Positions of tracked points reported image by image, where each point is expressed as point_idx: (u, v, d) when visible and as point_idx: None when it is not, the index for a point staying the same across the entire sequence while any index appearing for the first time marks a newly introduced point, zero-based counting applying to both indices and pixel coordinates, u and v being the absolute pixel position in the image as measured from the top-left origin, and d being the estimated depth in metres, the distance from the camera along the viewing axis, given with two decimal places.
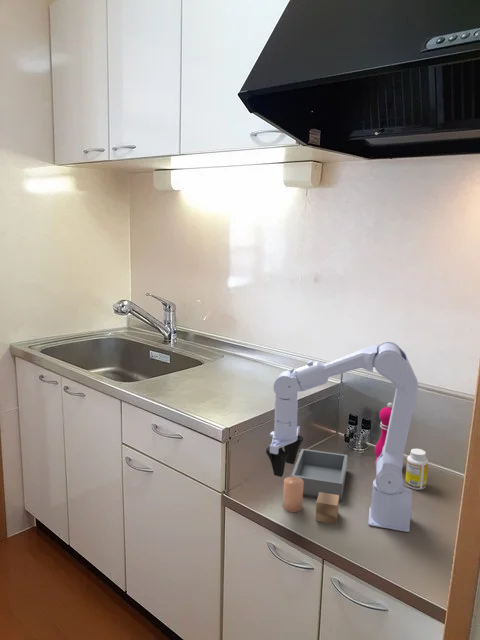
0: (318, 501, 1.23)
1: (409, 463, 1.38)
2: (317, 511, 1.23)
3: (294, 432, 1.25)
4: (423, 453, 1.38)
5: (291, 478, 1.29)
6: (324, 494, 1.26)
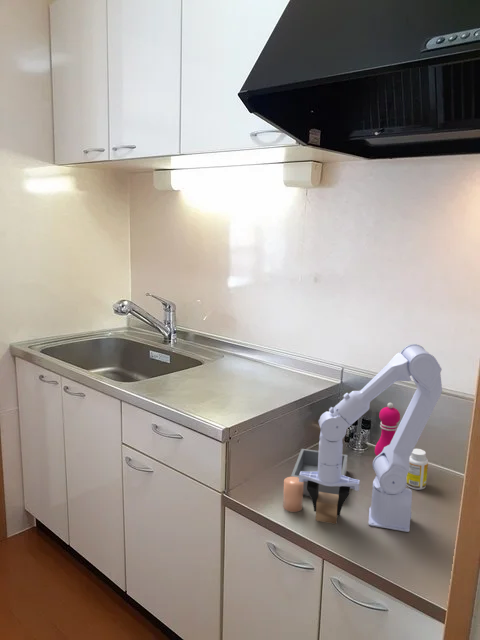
0: (318, 501, 1.23)
1: (409, 463, 1.38)
2: (317, 511, 1.23)
3: (325, 475, 1.20)
4: (423, 453, 1.38)
5: (291, 478, 1.29)
6: (324, 494, 1.26)
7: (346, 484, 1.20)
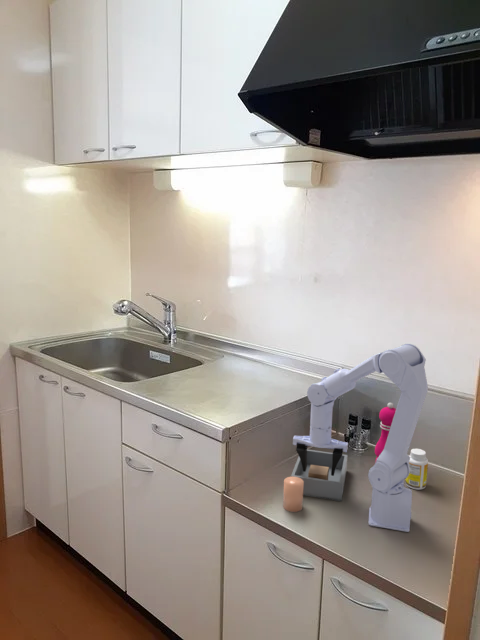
0: (310, 472, 1.36)
1: (409, 463, 1.38)
2: None
3: (316, 438, 1.33)
4: (423, 453, 1.38)
5: (291, 478, 1.29)
6: (315, 466, 1.39)
7: (335, 446, 1.33)
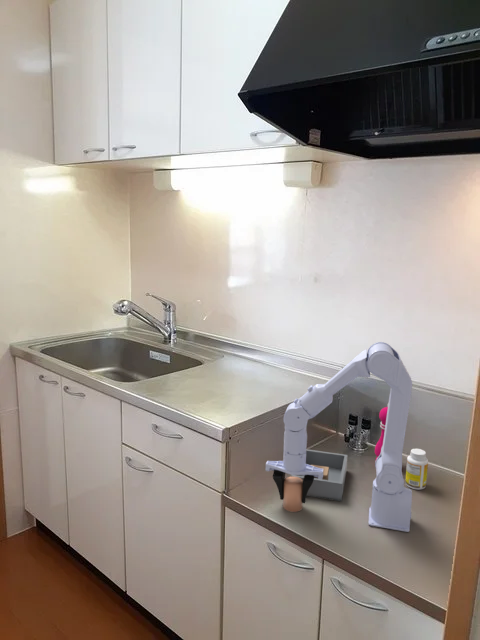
0: None
1: (409, 463, 1.38)
2: None
3: (289, 464, 1.25)
4: (423, 453, 1.38)
5: (291, 478, 1.29)
6: (315, 466, 1.39)
7: (310, 473, 1.25)
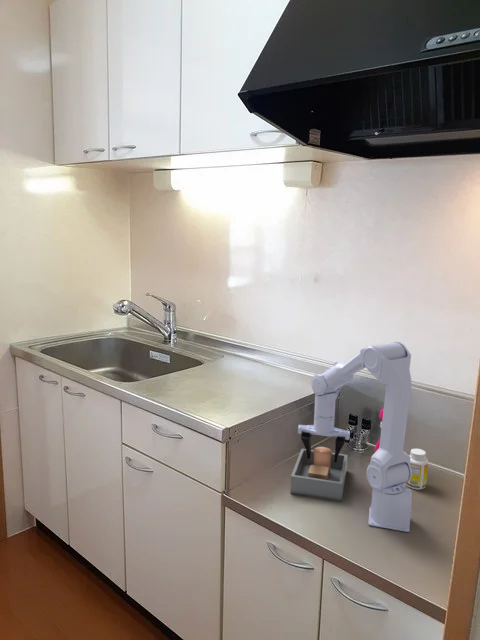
0: (310, 472, 1.36)
1: None
2: None
3: (320, 426, 1.41)
4: (423, 453, 1.38)
5: (320, 448, 1.46)
6: (315, 466, 1.39)
7: (338, 434, 1.41)
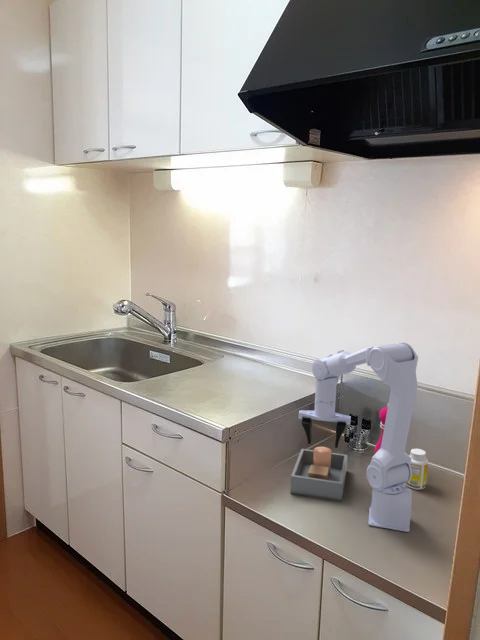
0: (310, 472, 1.36)
1: None
2: None
3: (320, 411, 1.40)
4: (423, 453, 1.38)
5: (320, 448, 1.46)
6: (315, 466, 1.39)
7: (339, 419, 1.40)
